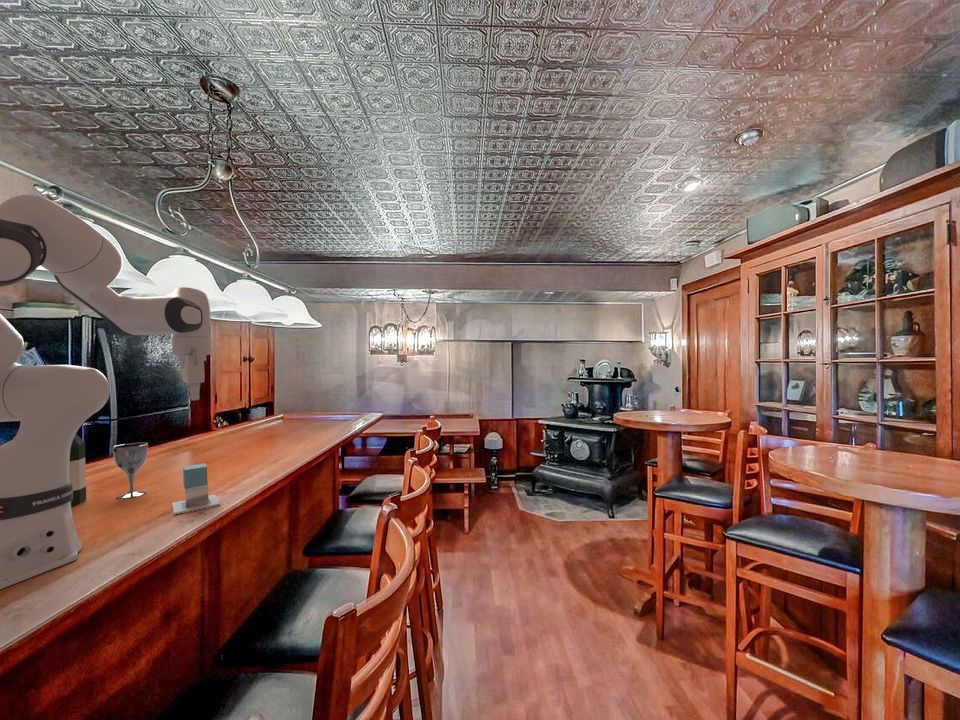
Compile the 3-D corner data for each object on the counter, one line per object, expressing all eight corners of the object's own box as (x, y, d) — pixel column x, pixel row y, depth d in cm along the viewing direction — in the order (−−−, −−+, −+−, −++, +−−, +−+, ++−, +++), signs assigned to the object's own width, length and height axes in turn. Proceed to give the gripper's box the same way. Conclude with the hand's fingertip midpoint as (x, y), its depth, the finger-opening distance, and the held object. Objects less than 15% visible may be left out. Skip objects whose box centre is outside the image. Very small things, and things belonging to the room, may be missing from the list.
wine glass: (156, 491, 123) (154, 442, 123) (130, 500, 115) (128, 448, 115) (133, 490, 124) (132, 442, 124) (106, 499, 116) (104, 447, 116)
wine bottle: (64, 509, 108) (61, 399, 108) (34, 510, 109) (31, 400, 108) (94, 499, 117) (92, 396, 117) (66, 499, 117) (64, 397, 117)
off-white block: (208, 503, 109) (207, 485, 109) (185, 507, 106) (185, 488, 106) (208, 498, 113) (207, 480, 113) (186, 502, 110) (186, 484, 110)
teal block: (207, 484, 109) (207, 466, 109) (184, 488, 106) (184, 470, 106) (205, 480, 113) (205, 463, 113) (183, 484, 110) (183, 466, 110)
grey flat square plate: (220, 505, 109) (220, 503, 109) (173, 515, 102) (173, 512, 102) (215, 496, 116) (215, 494, 116) (172, 504, 110) (172, 502, 110)
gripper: (210, 347, 103) (211, 400, 103) (202, 349, 119) (203, 396, 119) (180, 347, 99) (181, 402, 99) (175, 349, 115) (177, 397, 115)
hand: (193, 399), depth 109 cm, fingers open, 8 cm apart
